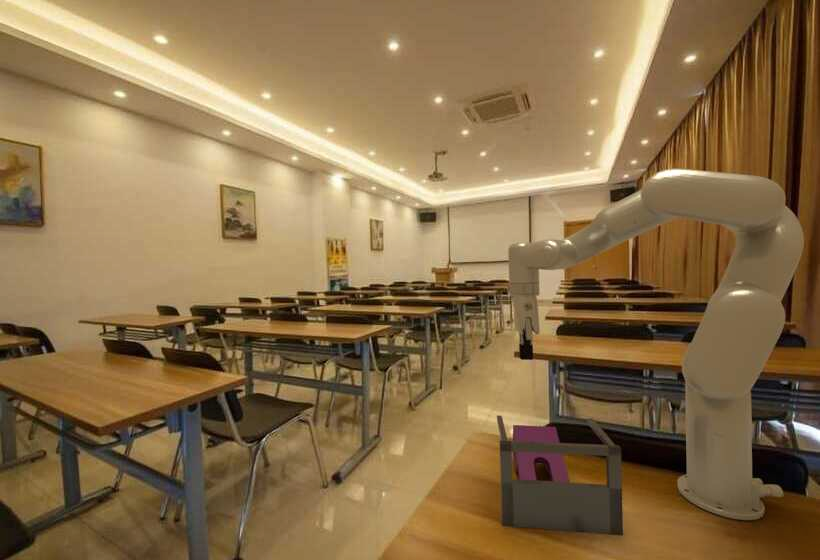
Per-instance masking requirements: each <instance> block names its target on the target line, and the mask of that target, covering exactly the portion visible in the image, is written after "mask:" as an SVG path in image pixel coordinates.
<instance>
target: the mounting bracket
mask: <svg viewBox="0 0 820 560" xmlns="http://www.w3.org/2000/svg"><path fill="white" fill-rule="evenodd" d="M512 441H524V442H549V443H561V442H560V439H559V436H558V431H557V428H556V426H547V425H545V426H543V425H525V424H524V425H523V424H521V425H520V424H513V425H512ZM512 458H513V464H514V465H515V466H514V470H515V472H516V473H518V479H519V480H536V481H538V480H537V476H536V469H535V465H537V464H542V465H544V466H545V469H546V472H547V474H548V475H549V477H550V481H553V482H570V483H571V481H570V477H569V472H568V469H567V466H566V462H565V458H564V454H556V453H535V452H513V451H512Z"/></svg>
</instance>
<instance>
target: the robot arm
mask: <svg viewBox="0 0 820 560" xmlns="http://www.w3.org/2000/svg"><path fill="white" fill-rule="evenodd" d="M786 200H787V198H786V193H785V191H784V189H783V188H782V187H781V186H780V184H778V183H777V182H776V181H774V180H772V179H769V178H766V177H763V176H757V175H751V174H743V173H742V174H741V173H740V174H739V173H731V172H730V173H728V172H719V171H718V172H717V171H709V170H699V169H690V168H689V169H687V168H677V167H676V168H668V169H662V170H660V171H657V172H656V173H654V174H652V175H651V176H650V177H648V179H647V180H646V181H645V182H644V183H643V185H642V187H641V189H639V190H637V191H636V192H634V193H632V194H630V195H628V196H627V197H624V198H623V199H620V200H618V201H616V202H615V203H612V204H611V205H608V206H607V207H604V208H603V209H601V210H600V211H599V212H598V213H597V214H596V215H595V217H594V219H593V220H592V221H591V222H590V223H589V224H588V225H587V226H585V227H584V228H582V229H580V230H579V231H577V232H575V233H573V234H571V235H569V236H567V237H565V238H563V239H561V240H560V239H552V238H549V239H543V240H539V241H534V242H518V243H517V242H516V243H512V244H510V245H509V247H508V250H507V251H508V253H507V254H508V258H507V259H508V283H509V284H508V286H509V289H508V290H509V296H510V297H513V308H514V309H513V311H514V314H513V315H514V326H515V329H516V331H517V332H518V336H519V343H518V350H519V351H518V354H519V359H520V360H521V361H523V360H524V361H526V360H527V361H533V360H534V347H533V346H534V345H533V333H534V334H535V335H539V334H540V330H541V329H540V319H539V305H538V299H537V296H540V270H543V271H555V270H565V269H569V268H571V267H573V266H576V265H579V264H580V263H582V262H583V263H584V262H585V261H587V260H590V259H591V258H594V257H596V256H598V255H600V254H602V253H604V252H606V251H608V250H610V249H612V248H615V247H617V246H619V245H620V244H622V243H625V242H627V241H629V240H632V239H633V238H636V237H637V236H640V235H641V234H644V233H646V232H647V233H648V231H651V230H653V229H655V228H657V227H660V226H662V225H665V224H667V223H670V222H671V221H673V220H676V219H678V218H680V219H686V220H691V221H696V222H703V223H709V224H714V225H720V226H722V227H724V228H725V229H727V230H729V231H730V232H732V233H733V235H734V238H735V246H734V250H733V252H732V255H731V257H730V260H729V262H728V265H727V268H726V270H725V272H724V274H723V276H722V278H721V280H720V282H719V283H718V284H719V285H718V286H717V288H716V289H715V292H714V293H713V294H712V295H711V296H710V298H709V300H708V303H707V306H706V308H705V311H704V314H703V316H702V318H701V321H700V322H699V325H698V327H697V329H696V331H695V334H694V336H693V338H692V340H691V342H690V343H689V344H688V346H687V347H686V349H685V351H684V353H683V358H682V362H681V371H682V372H681V373H682V375H683V379H684V380H685V388H684V390H685V442H686V443H685V444H686V445H685V446H686V447H685V448H686V449H685V451H686V455H685V456H686V474H682V475H681V476H680V477H678V478H677V482H676V483H677V484H676V486H677V489H678V491H679V493H680V494H681V495H682V496H683V497H684V498H685V499H687V500H688V501H689V502H690V503H692V504H694V505H695V506H697V507H699V508H701V509H702V510H705V511H707V512H709V513H712V514H715V515H718V516H721V517H724V518H728V519H733V520H741V521H754V520H755V521H756V520H759V519H761V518H762V517H763V516H764V515H765V511H766V510H765V504H764V503H763V501H762V500H761V499H760V498H764V497H765V496H768V497H778V498H783V497H784V491H783V489H782V488H781V486H780V485H778V484H767V483H766V484H764V482H763V480H762V479H761V478H760V477H759V478H758V477H757V478H756V477H753V452H752V447H753V445H752V443H753V442H752V441H753V440H752V427H753V426H752V420H753V419H752V392H751V391H752V390H751V389H752V388H753V387H754V385H755V383H756V382H757V380H758V379H759V376H760V374H761V373H762V372H763V369H764V367H765V365H766V364H767V361H768V359H769V358H770V356H771V354H772V352H773V350H774V348H775V346H776V344H777V342H778V340H779V338H780V336H781V334H782V332H783V329H784V326H785V321H786V310H785V307H784V306H783V303H782V301H783V298H784V296H785V294H786V291H787V289H788V287H789V286H790V283H791V281H792V279H793V277H794V274H795V272H796V270H797V267H798V266H799V263H800V260H801V257H802V255H803V250H804V247H805V246H804V244H805V236H804V232H803V228H802V226H801V223H800V221H799V219H798V217H797V216H796V214H795V213H794V212H793V211H792V210H791V209H790V208H789V207H788V206H787V205H786ZM763 514H764V515H763ZM760 517H761V518H760Z"/></svg>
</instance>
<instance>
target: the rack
mask: <svg viewBox="0 0 820 560" xmlns="http://www.w3.org/2000/svg"><path fill="white" fill-rule="evenodd" d="M586 420H587V421H586V424H587V425H588V426H589V427H590V428H591V429H592V431H593V432H594V434H596V436H597V438H599V439H600V441H601V443H602V444H597V443H596V444H593V443H592V444H591V443H570V442H567V443H566V442H560V443H549V442H524V441H513V440H508V436H507V431H506V428H505V423H504V419H503V416H502V415H496V422H497V426H498V432H499V436H500V440H499V442H498V444H499V446H498V447H499V470H500V471H499V474H500V479H499V480H500V504H501V505H500V506H501V509H500V510H501V525H502V526H504V527H516V528H527V529H540V530H552V531H553V530H554V531H564V532H565V531H566V532H578V533H579V532H581V533H590V534H592V533H593V534H603V535H618V536H624V528H623V527H624V524H623V523H624V521H623V517H624V515H623V514H624V513H623V479H622V478H623V477H622V476H623V475H622V474H623V472H622V447H621V446H620V445H619V444H618V445H617V444H615V443H614V441H613V440H612V439H611V438H610V437H609V436H608V435H607V433H605V431H604V430H603V429H602V428H601V426H599V424H598V423H597V422H596V420H594V418H592V417H590V418H589V417H587V419H586ZM513 452H535V453H556V454H563V455H582V456H602V457H603V456H605V458H606V461H605V462H606V484H599V483H586V482H585V483H584V482H571V481H570V482H553V481H551V480H549V481H548V480H537V479H536V480H537V481H536V480H519V478H518V479H517V478H516V479H515V478H514V479H513Z"/></svg>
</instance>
